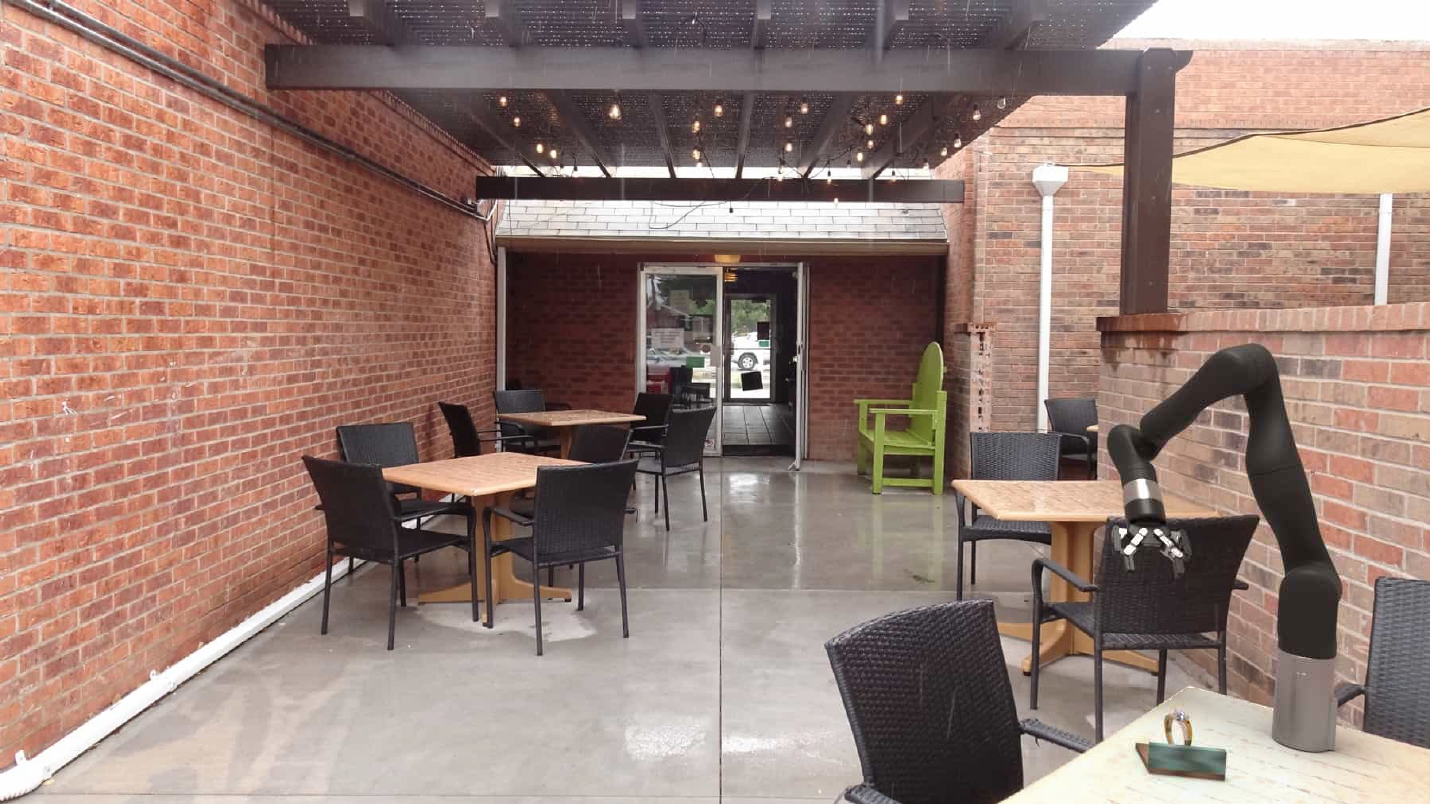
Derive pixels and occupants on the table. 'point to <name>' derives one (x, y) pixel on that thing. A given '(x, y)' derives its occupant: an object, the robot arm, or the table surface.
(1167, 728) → the gold diamond ring
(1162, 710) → the table surface
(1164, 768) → the desk nameplate
